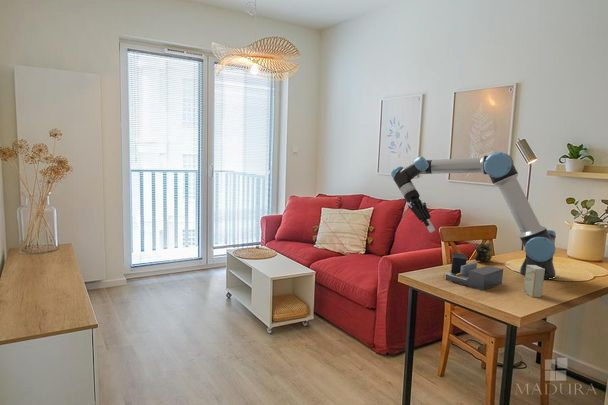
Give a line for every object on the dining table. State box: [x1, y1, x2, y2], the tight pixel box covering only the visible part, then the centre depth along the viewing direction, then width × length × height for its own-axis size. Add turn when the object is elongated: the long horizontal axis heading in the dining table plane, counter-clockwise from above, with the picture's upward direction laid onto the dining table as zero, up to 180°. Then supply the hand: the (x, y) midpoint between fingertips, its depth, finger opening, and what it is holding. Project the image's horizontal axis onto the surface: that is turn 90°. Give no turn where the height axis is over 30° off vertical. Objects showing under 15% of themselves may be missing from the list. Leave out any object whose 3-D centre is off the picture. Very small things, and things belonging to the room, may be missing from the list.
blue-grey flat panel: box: [456, 261, 478, 278], centre depth 187 cm, size 1×16×7 cm, turn 128°
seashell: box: [474, 242, 493, 263], centre depth 225 cm, size 11×11×10 cm
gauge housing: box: [444, 265, 504, 291], centre depth 186 cm, size 18×18×7 cm
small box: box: [450, 252, 467, 274], centre depth 193 cm, size 11×6×10 cm, turn 160°
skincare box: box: [522, 265, 545, 298], centre depth 171 cm, size 6×4×12 cm
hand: (432, 231), depth 205 cm, fingers closed
